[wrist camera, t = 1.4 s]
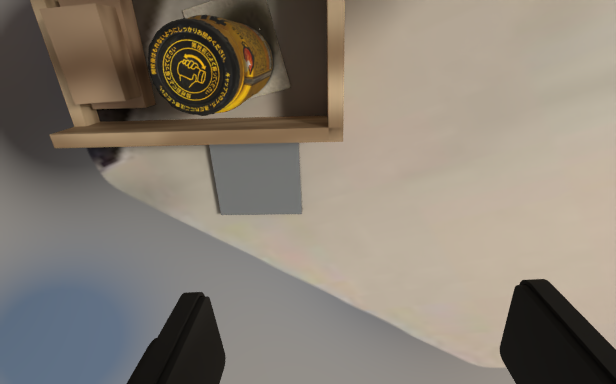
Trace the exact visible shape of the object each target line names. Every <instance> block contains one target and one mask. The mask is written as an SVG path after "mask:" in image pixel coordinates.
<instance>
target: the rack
mask: <svg viewBox="0 0 616 384" xmlns="http://www.w3.org/2000/svg"><path fill="white" fill-rule="evenodd" d="M30 1H31V5H32V7H33V10H34V13H35V16H36V19H37V22H38V24H39V27H40V30H41V33H42V36H43V38H44V41H45V44H46V47H47V50H48V53H49V56H50V59H51V61H52V64H53V67H54V70H55V73H56V75H57V78H58V81H59V84H60V87H61V90H62V93H63V96H64V98H65V101H66V104H67V107H68V110H69V113H70V116H71V118H72V121H73V124H74V127H72V128H69V129H66V130H63V131H60V132H56V133H53V134H50V137H51V140H52V142H53V145H54V148H81V147H82V148H83V147H84V148H85V147H128V146H172V145H215V144H258V143H301V142H343V104H344V24H345V0H327V114H328V115H327V116H291V117H255V118H218V119H182V120H145V121H109V122H100V120H99V116H98V113H97V110H96V109H93V107H92V104H91V103H89V104H75V102H74V100H73V97H72V94H71V92H70V89H69V86H68V84H67V81H66V79H65V76H64V73H63V71H62V68H61V65H60V63H59V60H58V57H57V55H56V52H55V49H54V47H53V44H52V42H51V39H50V36H49V34H48V31H47V28H46V26H45V23H44V20H43V18H42V15H41V12H40V10H39V9H42V8H53V7H60V4H59V1H58V0H30Z"/></svg>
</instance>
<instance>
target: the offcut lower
mask: <svg viewBox="0 0 616 384" xmlns="http://www.w3.org/2000/svg"><path fill="white" fill-rule="evenodd" d="M58 1H59V4H60V7H63V6H73V5H84V4H94V3H96V4H101V5H106V6H111V7H115V8H116V12H117V15H118V18H119V22H120V25H121V29H122V32H123V36H124V39H125V43H126V46H127V49H128V53H129V56H130V60H131V63H132V67H133V70H134V74H135V77H136V81H137V84H138V87H139V91H140V94H141V97H137V98H133V99H130V100H126V101H115V102H102V103H91V104H92V107H93V109H119V108H146V107H149V106H152V105H155V104H156V103H155V98H154V94H153V90H152V85H151V81H150V77H149V73H148V68H147V64H146V60H145V55H144V51H143V47H142V43H141V38H140V34H139V30H138V25H137V21H136V17H135V13H134V8H133V4H132V0H58Z"/></svg>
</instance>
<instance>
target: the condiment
mask: <svg viewBox="0 0 616 384" xmlns="http://www.w3.org/2000/svg"><path fill="white" fill-rule="evenodd" d="M182 12H183V14H184V17H185V18H183V19H180V20H176V21H172V22H170V23H168V24H166V25H165V26H163V27H162V28H161V29H160V30H159V31H157V33H156V34H155V36H154V38H153V40H152V42H151V43H150V45H149V57H148V61H149V65H148V68H149V72H150V75H151V78H152V80H153V83H154V85H155V86H156V89H157V90H158V92H159V94H160V95H161V96H162V97H163V98H165V99H166V100H167V101H168V102H169V103H170V105H171V106H172V107H174V108H176V109H178V110H180V111H182V112H186V113H189V114H193V115H194V114H196V115H201V116H206V115H209V114H214V113H221V112H227V111H230V110H232V109H234V108H236V107H238V106H239V105H241V104H242V103H243V102H245V101H246V100H248V99H251V98H255V97H258V96H262V95H265V94H269V93H273V92H277V91H280V90H284V89H287V88H291V87H290V83H289V79H288V76H287V72H286V68H285V65H284V61H283V58H282V54H281V50H280V47H279V43H278V40H277V36H276V33H275V30H274V26H273V22H272V18H271V15H270V11H269V8H268V4H267V1H266V0H213V1H209V2H207V3H203V4H200V5H198V6H194V7H191V8H188V9H185V10H182ZM259 28H260V29H261V30H259Z"/></svg>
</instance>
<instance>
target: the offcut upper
mask: <svg viewBox="0 0 616 384" xmlns="http://www.w3.org/2000/svg"><path fill="white" fill-rule="evenodd" d="M39 10H40V12H41V15H42V18H43V20H44V23H45V26H46V28H47V31H48V34H49V36H50V39H51V42H52V44H53V47H54V49H55V52H56V55H57V57H58V60H59V63H60V65H61V68H62V71H63V73H64V76H65V79H66V81H67V84H68V86H69V89H70V92H71V94H72V97H73V100H74V102H75V104H89V103H102V102H115V101H126V100H130V99H133V98H137V97H141V94H140V91H139V87H138V84H137V81H136V77H135V74H134V70H133V67H132V63H131V60H130V56H129V53H128V49H127V46H126V43H125V39H124V36H123V32H122V29H121V25H120V22H119V18H118V15H117V12H116V8H115V7H111V6H106V5H101V4H96V3H94V4H84V5H73V6H63V7H53V8H42V9H39Z"/></svg>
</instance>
